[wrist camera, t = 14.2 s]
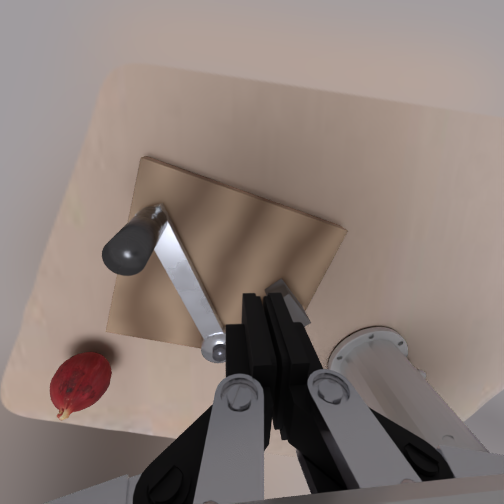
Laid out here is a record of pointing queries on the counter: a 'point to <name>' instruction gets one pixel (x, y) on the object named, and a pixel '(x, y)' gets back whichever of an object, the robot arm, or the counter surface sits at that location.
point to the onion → (79, 383)
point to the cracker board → (220, 255)
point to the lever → (167, 270)
